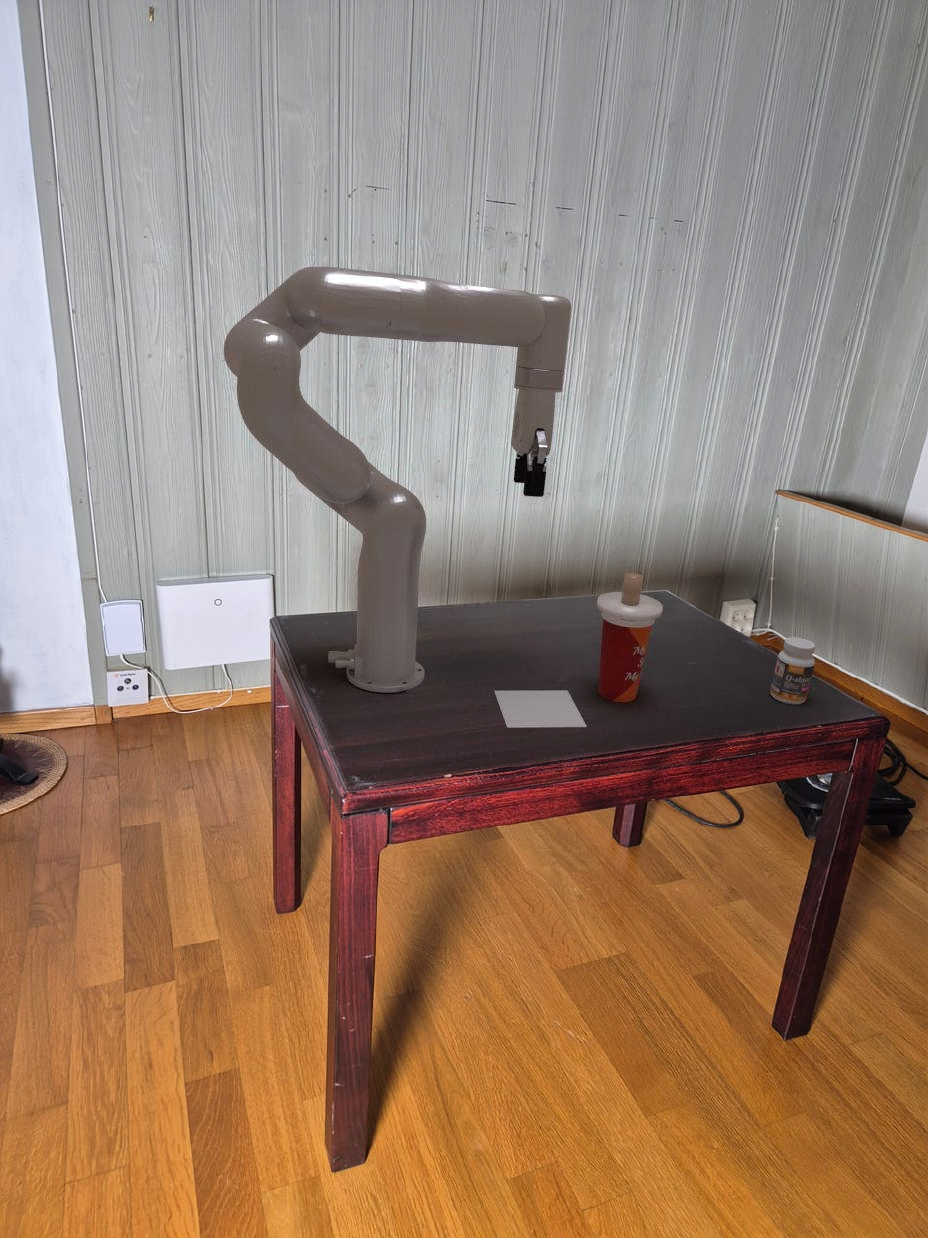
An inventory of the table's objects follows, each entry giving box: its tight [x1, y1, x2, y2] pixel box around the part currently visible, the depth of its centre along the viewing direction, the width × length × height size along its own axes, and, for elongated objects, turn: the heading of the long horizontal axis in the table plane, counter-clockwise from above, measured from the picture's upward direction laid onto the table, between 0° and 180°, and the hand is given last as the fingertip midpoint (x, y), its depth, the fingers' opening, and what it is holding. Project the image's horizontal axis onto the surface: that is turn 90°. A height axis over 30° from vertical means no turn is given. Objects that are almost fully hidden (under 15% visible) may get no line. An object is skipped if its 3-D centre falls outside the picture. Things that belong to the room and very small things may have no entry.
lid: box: [596, 571, 664, 621], centre depth 129 cm, size 10×10×6 cm
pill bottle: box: [769, 636, 816, 705], centre depth 137 cm, size 6×6×10 cm
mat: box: [494, 689, 588, 729], centre depth 129 cm, size 12×12×1 cm
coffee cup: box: [598, 612, 656, 703], centre depth 133 cm, size 8×8×15 cm
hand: (527, 489), depth 136 cm, fingers open, 9 cm apart
